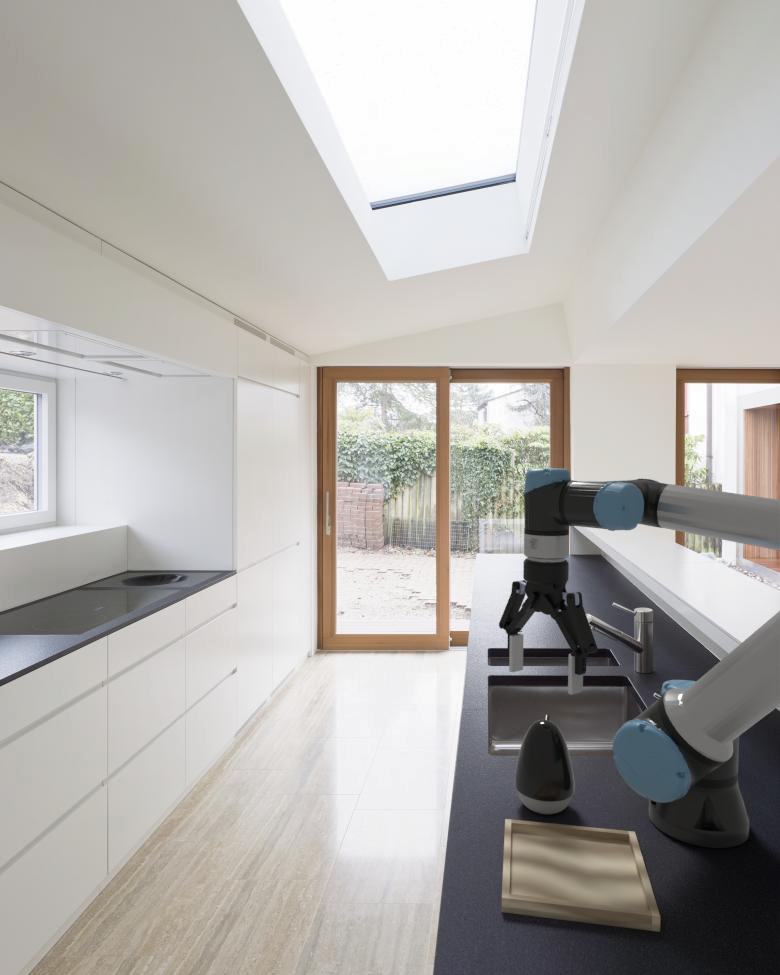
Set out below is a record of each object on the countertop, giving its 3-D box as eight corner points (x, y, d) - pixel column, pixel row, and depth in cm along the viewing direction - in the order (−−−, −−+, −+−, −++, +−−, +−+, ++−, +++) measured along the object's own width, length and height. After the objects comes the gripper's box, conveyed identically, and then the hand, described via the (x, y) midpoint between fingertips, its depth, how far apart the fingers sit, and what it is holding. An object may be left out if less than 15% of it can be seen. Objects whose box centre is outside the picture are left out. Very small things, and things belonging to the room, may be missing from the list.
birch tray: (505, 830, 110) (505, 818, 110) (634, 844, 106) (634, 831, 106) (501, 912, 90) (501, 897, 90) (660, 931, 87) (660, 916, 87)
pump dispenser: (575, 796, 121) (576, 712, 120) (573, 826, 111) (574, 735, 111) (518, 788, 124) (518, 706, 124) (510, 816, 114) (511, 728, 114)
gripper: (480, 551, 124) (479, 665, 125) (590, 571, 103) (587, 708, 104) (510, 548, 128) (509, 659, 129) (621, 566, 108) (619, 698, 109)
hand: (544, 681), depth 117 cm, fingers open, 13 cm apart
